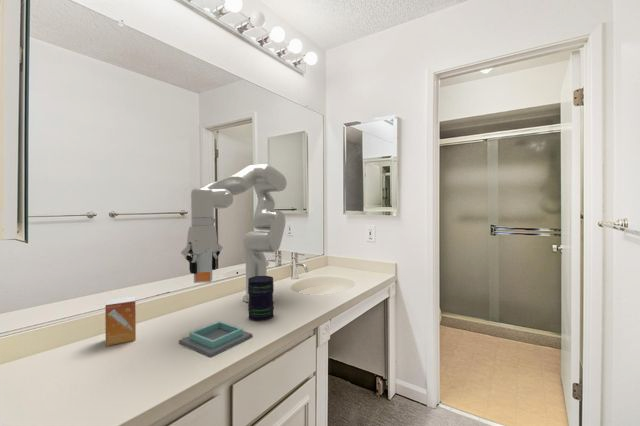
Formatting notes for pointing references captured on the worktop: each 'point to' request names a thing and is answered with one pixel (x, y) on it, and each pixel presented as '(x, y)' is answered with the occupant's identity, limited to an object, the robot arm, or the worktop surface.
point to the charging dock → (215, 338)
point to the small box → (120, 320)
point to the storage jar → (260, 298)
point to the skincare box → (204, 267)
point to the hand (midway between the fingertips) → (203, 271)
